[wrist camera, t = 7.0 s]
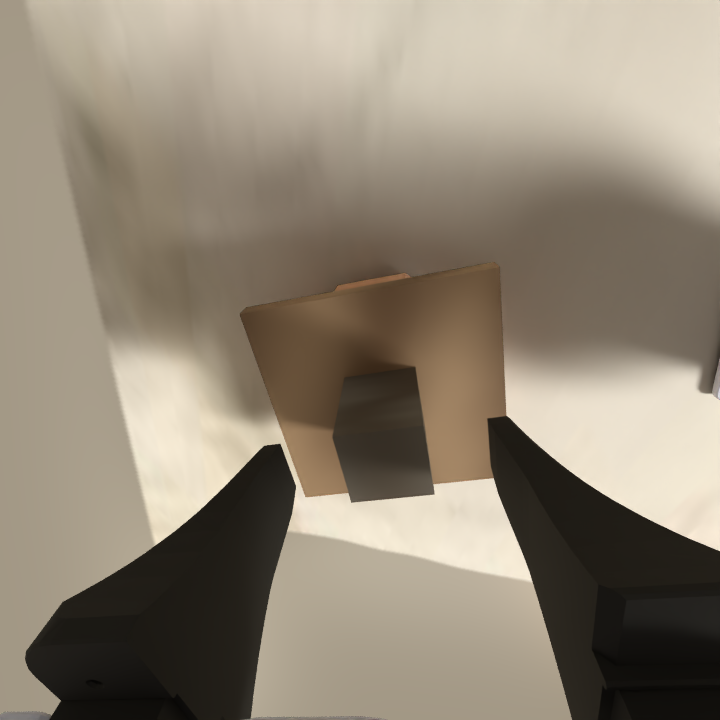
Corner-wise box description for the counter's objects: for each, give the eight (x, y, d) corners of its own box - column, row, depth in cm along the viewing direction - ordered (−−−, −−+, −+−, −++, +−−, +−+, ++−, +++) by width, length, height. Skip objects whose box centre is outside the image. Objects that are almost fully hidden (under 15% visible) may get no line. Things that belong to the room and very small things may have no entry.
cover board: (494, 262, 14) (539, 302, 10) (504, 464, 19) (539, 553, 14) (246, 307, 16) (193, 359, 12) (308, 485, 20) (287, 571, 16)
